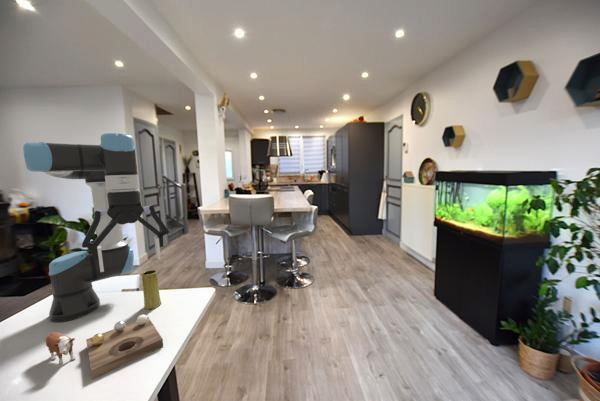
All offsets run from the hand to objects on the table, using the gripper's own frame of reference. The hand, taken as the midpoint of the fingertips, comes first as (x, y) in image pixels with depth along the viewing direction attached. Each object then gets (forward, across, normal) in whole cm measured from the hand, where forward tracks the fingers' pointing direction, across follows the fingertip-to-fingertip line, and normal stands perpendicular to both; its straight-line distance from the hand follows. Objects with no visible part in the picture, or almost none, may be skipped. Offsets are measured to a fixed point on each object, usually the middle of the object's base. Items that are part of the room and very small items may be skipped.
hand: (132, 264), depth 71 cm
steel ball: (+24, -4, +13) cm, 27 cm away
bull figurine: (+28, -18, +13) cm, 36 cm away
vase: (+28, +8, +30) cm, 42 cm away
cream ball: (+24, +2, +12) cm, 27 cm away
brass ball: (+24, -10, +10) cm, 27 cm away
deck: (+28, -4, +7) cm, 29 cm away
